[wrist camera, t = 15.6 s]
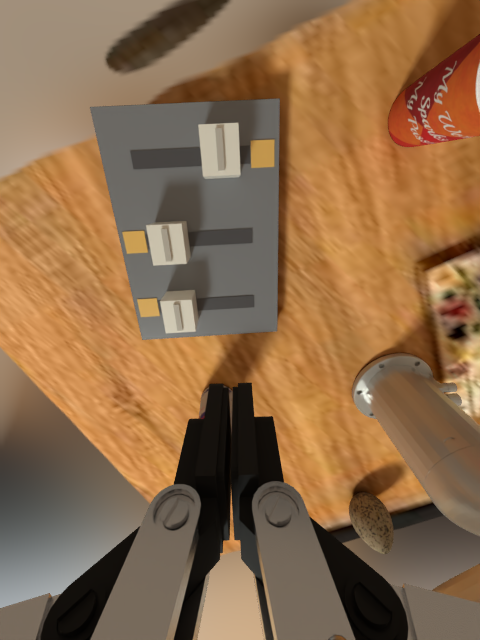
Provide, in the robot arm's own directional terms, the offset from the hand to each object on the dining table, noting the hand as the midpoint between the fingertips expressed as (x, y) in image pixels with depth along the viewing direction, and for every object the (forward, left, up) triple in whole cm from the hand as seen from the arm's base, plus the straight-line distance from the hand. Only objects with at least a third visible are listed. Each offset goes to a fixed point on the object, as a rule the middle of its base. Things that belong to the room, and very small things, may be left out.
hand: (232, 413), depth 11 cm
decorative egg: (-24, +49, -26) cm, 61 cm away
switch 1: (+6, -4, -24) cm, 25 cm away
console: (+3, -4, -26) cm, 27 cm away
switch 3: (0, -12, -24) cm, 26 cm away
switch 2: (+6, +4, -24) cm, 25 cm away
